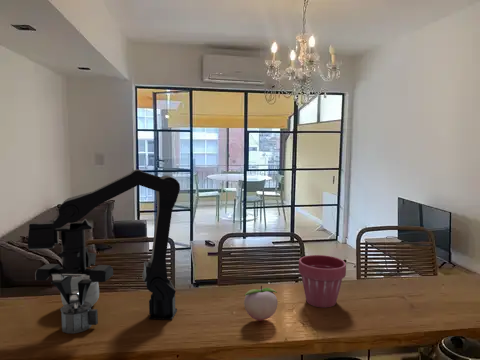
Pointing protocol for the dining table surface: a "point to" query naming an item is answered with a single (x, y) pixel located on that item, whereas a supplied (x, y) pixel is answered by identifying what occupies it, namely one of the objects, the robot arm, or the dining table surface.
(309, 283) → the plant pot
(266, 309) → the decorative fruit
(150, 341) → the dining table surface
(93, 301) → the teacup
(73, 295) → the plunger
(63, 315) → the octagonal grey mug
